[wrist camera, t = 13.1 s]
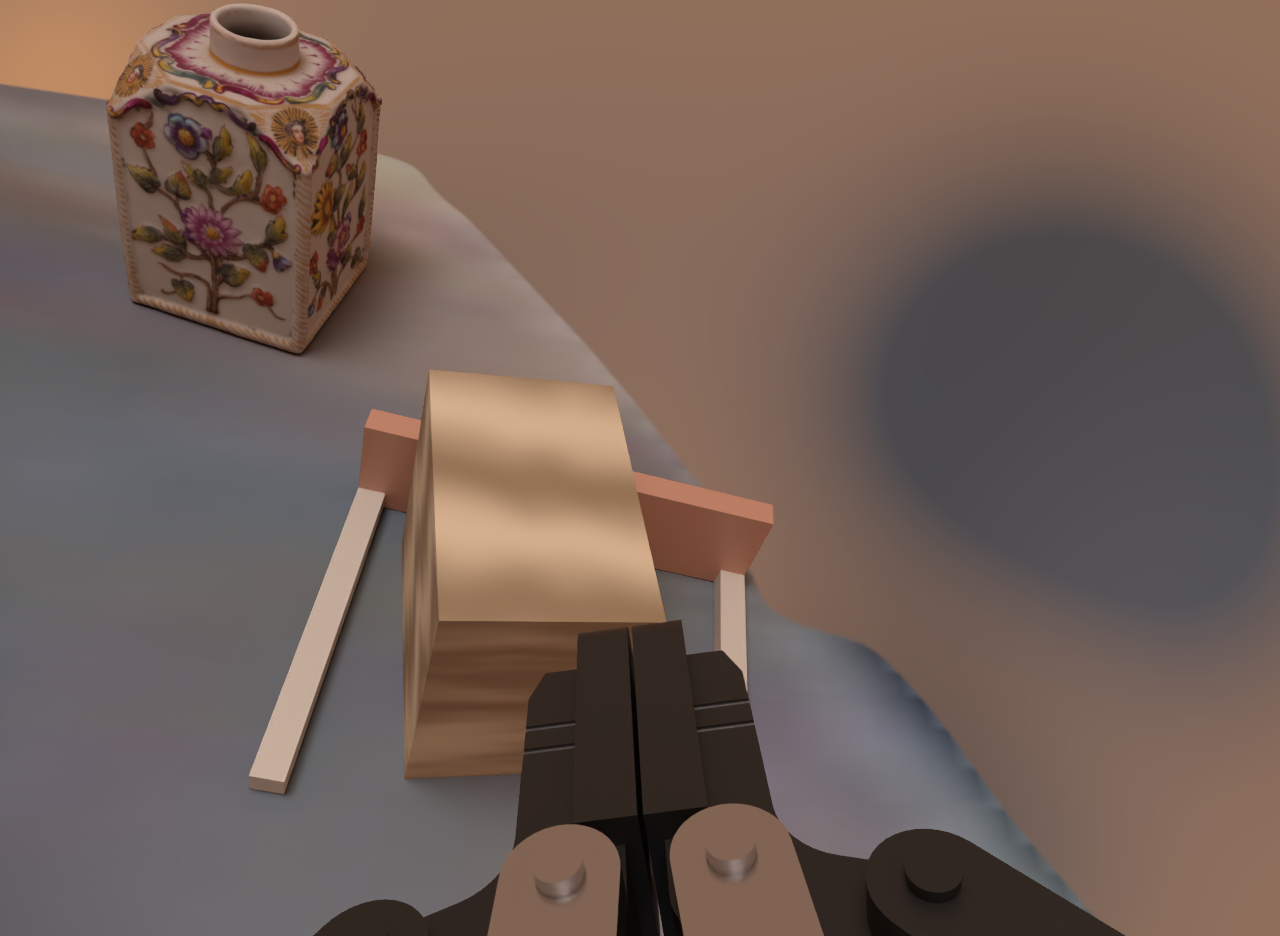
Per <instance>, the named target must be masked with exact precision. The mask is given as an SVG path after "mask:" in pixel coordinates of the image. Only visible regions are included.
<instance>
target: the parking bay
mask: <svg viewBox="0 0 1280 936" xmlns="http://www.w3.org/2000/svg"><path fill="white" fill-rule="evenodd" d="M420 425H421V420H417V419H413V418H409V417H405V416H400V415H396V414H392V413H388V412H384V411H380V410H375V409H372V410H371V412H370V415H369V417H368V420H367V422H366V425H365V428H364V438H363V449H362V459H361V469H360V479H359V488H358V491H357V493H356V496H355V498H354V501H353V504H352V506H351V509H350V512H349V514H348V517H347V519H346V522H345V525H344V527H343V530H342V533H341V535H340V538H339V540H338V543H337V546H336V548H335V551H334V554H333V556H332V559H331V562H330V564H329V567H328V569H327V572H326V575H325V577H324V580H323V583H322V585H321V588H320V590H319V593H318V596H317V598H316V601H315V604H314V606H313V609H312V611H311V614H310V617H309V619H308V622H307V625H306V627H305V630H304V633H303V635H302V638H301V640H300V643H299V646H298V648H297V651H296V654H295V656H294V659H293V661H292V664H291V667H290V669H289V672H288V675H287V677H286V680H285V682H284V685H283V688H282V690H281V693H280V696H279V698H278V701H277V703H276V706H275V709H274V711H273V714H272V717H271V719H270V722H269V725H268V727H267V730H266V732H265V735H264V738H263V740H262V743H261V746H260V748H259V751H258V753H257V756H256V759H255V761H254V764H253V767H252V769H251V772H250V774H249V788H251V789H256V790H262V791H267V792H273V793H279V794H284V793H285V790H286V787H287V784H288V781H289V778H290V776H291V773H292V770H293V767H294V764H295V761H296V758H297V755H298V752H299V750H300V747H301V744H302V741H303V738H304V735H305V732H306V729H307V727H308V724H309V721H310V718H311V715H312V712H313V709H314V706H315V703H316V701H317V698H318V695H319V692H320V689H321V686H322V683H323V680H324V678H325V675H326V672H327V669H328V666H329V663H330V660H331V657H332V654H333V652H334V649H335V646H336V643H337V640H338V637H339V634H340V631H341V629H342V626H343V623H344V620H345V617H346V614H347V611H348V608H349V605H350V603H351V600H352V597H353V594H354V591H355V588H356V585H357V582H358V580H359V577H360V574H361V571H362V568H363V565H364V562H365V559H366V556H367V554H368V551H369V548H370V545H371V542H372V539H373V536H374V533H375V530H376V528H377V525H378V522H379V519H380V516H381V513H382V510H383V507H385V508H389V509H394V510H398V511H402V512H407V508H408V502H409V495H410V489H411V483H412V476H413V470H414V463H415V457H416V450H417V444H418V438H419V431H420ZM632 472H633V471H632ZM633 476H634V480H635V485H636V489H637V494H638V498H639V502H640V507H641V511H642V516H643V520H644V525H645V529H646V533H647V538H648V542H649V547H650V551H651V555H652V560H653V564H654V568H655V569H659V570H664V571H668V572H673V573H677V574H682V575H686V576H691V577H695V578H699V579H704V580H708V581H713V582H714V651H721V650H723V651H724V652H725V653H726V654H727V655H728V657H729V658H730V659H731V660H732V661H733V662H734V663H735V664H736V665H737V666H738V667H739V668H740V669H741V670H742V671H743V676H744V680H745V685H746V689H747V660H746V619H745V578H744V575H745V573H746V572H747V570H748V568H749V566H750V565H751V563H752V561H753V559H754V558H755V556H756V554H757V552H758V551H759V549H760V547H761V545H762V544H763V542H764V540H765V538H766V537H767V535H768V533H769V531H770V530H771V528H772V526H773V524H774V522H773V505H770V504H766V503H762V502H758V501H754V500H750V499H746V498H741V497H737V496H733V495H728V494H724V493H721V492H716V491H712V490H708V489H704V488H700V487H696V486H691V485H687V484H683V483H679V482H675V481H671V480H667V479H662V478H658V477H654V476H650V475H646V474H642V473H637V472H633Z"/></svg>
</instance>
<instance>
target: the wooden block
mask: <svg viewBox="0 0 1280 936" xmlns="http://www.w3.org/2000/svg"><path fill="white" fill-rule="evenodd" d="M402 571H403V676H404V779H412V778H435V777H459V776H482V775H505V774H522V763H523V755H524V742H525V732H526V721H527V710H528V700H529V698H530V696H531V695H532V693H533V692H534V690H535V689H536V687H537V685H538V684H539V682H540V681H541V679H542V678H543V676H544V675H545V673H551V672H559V671H567V670H574V669H577V639H578V633H584V632H592V631H599V630H607V629H614V628H622V627H628V629H629V633H630V639H631V645H632V651H633V640H632V626H639V625H646V624H654V623H661V622H666V617H665V613H664V608H663V604H662V599H661V595H660V591H659V586H658V582H657V577H656V573H655V569H654V564H653V560H652V555H651V551H650V547H649V542H648V538H647V533H646V529H645V525H644V520H643V516H642V511H641V507H640V502H639V498H638V494H637V489H636V485H635V480H634V476H633V472H632V467H631V463H630V458H629V454H628V450H627V445H626V441H625V436H624V432H623V428H622V423H621V419H620V414H619V410H618V405H617V401H616V397H615V392H614V388H613V386H606V385H595V384H584V383H573V382H562V381H550V380H539V379H528V378H517V377H506V376H495V375H483V374H472V373H461V372H450V371H439V370H429V373H428V380H427V386H426V393H425V399H424V406H423V412H422V418H421V425H420V431H419V438H418V444H417V450H416V457H415V463H414V470H413V476H412V483H411V489H410V495H409V502H408V508H407V515H406V521H405V528H404V534H403V540H402ZM633 657H634V656H633Z"/></svg>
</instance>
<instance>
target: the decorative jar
mask: <svg viewBox="0 0 1280 936" xmlns="http://www.w3.org/2000/svg"><path fill="white" fill-rule="evenodd" d="M106 104H107V117H108V125H109V133H110V142H111V151H112V159H113V170H114V181H115V189H116V198H117V206H118V213H119V221H120V232H121V237H122V244H123V252H124V259H125V266H126V273H127V279H128V285H129V290H130V297H131V300H132V301H133V302H137V303H141V304H144V305H148V306H151V307H154V308H158V309H160V310H163V311H166V312H168V313H171V314H175V315H178V316H181V317H184V318H187V319H190V320H193V321H196V322H199V323H202V324H205V325H208V326H212V327H214V328H218V329H221V330H223V331H226V332H229V333H232V334H236V335H238V336H241V337H244V338H247V339H250V340H254V341H257V342H261V343H264V344H267V345H270V346H273V347H277V348H280V349H283V350H286V351H289V352H292V353H301V352H303V350H304V349H305V348H306V347H307V346H308V344H309V343H310V342H311V341H312V339H313V338H314V336H315V335H316V333H317V332H318V330H319V329H320V328H321V326H322V325H323V324H324V322H325V321H326V320H327V319H328V317H329V316H330V314H331V313H332V311H333V310H334V309H335V308H336V306H337V305H338V304H339V302H340V301H341V300H342V298H343V297H344V296H345V294H346V293H347V292H348V290H349V289H350V287H351V286H352V285H353V283H354V282H355V280H356V279H357V277H358V276H359V275H360V274H361V272H362V271H363V270H364V268H365V266H366V264H367V260H368V254H369V245H370V235H371V225H372V213H373V201H374V190H375V177H376V164H377V141H378V128H379V115H380V105H381V104H382V100H381V98H380V97H379V96H378V94H377V93H376V92H375V90H374V88H373V87H372V85H371V84H370V83H369V82H368V81H367V80H366V78H365V76H364V74H363V73H362V72H361V71H360V69H359V68H358V67H356V66H354V65H353V64H351V62H350V61H349V60H348V58H347V57H346V56H345V54H344V53H342V52H341V51H339V50H338V49H337V48H336V46H335V45H334V44H333V43H331V42H330V41H328V40H327V39H324V38H321V37H319V36H316V35H313V34H310V33H307V32H304V31H301V30H299V29H298V27H297V25H296V23H295V22H294V21H293V20H292V19H291V18H290V17H289V16H287V15H286V14H284V13H282V12H280V11H277V10H275V9H271V8H268V7H263V6H259V5H252V4H230V5H225V6H222V7H220V8H219V9H216V10H214V11H213V12H212V13H211V14H201V15H179V16H176V17H174V18H172V19H171V20H169V21H168V22H165V23H163V24H161V25H160V26H158V27H155V28H153V29H152V30H151V31H149V32H148V33H147V34H146V35H145V36H144V37H142V38H141V39H140V40H139V41H138V43H137V45H136V47H135V49H134V51H133V53H132V54H131V56H130V59H129V61H128V63H127V65H126V67H125V69H124V71H123V73H122V74H121V76H120V78H119V80H118V83H117V85H116V87H115V90H114V92H113V94H112V97H111V98H110V99H109V101H108V102H107V103H106Z"/></svg>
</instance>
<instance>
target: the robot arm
mask: <svg viewBox="0 0 1280 936" xmlns="http://www.w3.org/2000/svg"><path fill="white" fill-rule="evenodd" d="M632 640H633V651H632V645H631V639H630V633H629V629H628V627H622V628H614V629H607V630H599V631H592V632H584V633H578V639H577V669H574V670H567V671H559V672H551V673H545V675H544V676H543V678H542V679H541V681H540V682H539V684H538V685H537V687H536V689H535V690H534V692H533V693H532V695H531V696H530V698H529V700H528V710H527V721H526V732H525V742H524V755H523V763H522V774H521V784H520V795H519V805H518V816H517V827H516V837H515V843H514V848H513V851H512V852H511V853H510V854H509V856H508V857H507V858H506V860H505V862H504V864H503V866H502V868H501V872H500V873H499V874H498V875H497V876H496V878H495V879H494V880H493V881H492V882H491V883H489V884H488V885H487V886H486V887H485V888H483V889H482V890H481V891H479V892H478V893H476V894H475V895H473V896H471V897H470V898H468V899H466V900H463V901H461V902H459V903H457V904H455V905H452V906H450V907H448V908H445V909H443V910H440V911H438V912H436V913H433V914H431V915H428V916H426V917H424V918H423V917H422V915H421V914H420V913H419V912H418V911H417V910H416V909H415V908H413V907H412V906H410V905H408V904H406V903H404V902H400V901H396V900H375V901H370V902H366V903H362V904H360V905H357V906H354V907H352V908H350V909H348V910H346V911H344V912H342V913H341V914H339V915H338V916H336V917H335V918H333V919H332V920H330V921H329V922H328V923H327V924H326V925H324V926H323V927H322V928H321V929H320V930H319V931H318V932H317V933H316V934H315V935H314V936H660V923H659V909H660V915H661V921H662V927H663V933H664V936H1125V935H1123V934H1121V933H1120V932H1118V931H1117V930H1115V929H1113V928H1111V927H1110V926H1108V925H1107V924H1105V923H1103V922H1102V921H1100V920H1098V919H1097V918H1095V917H1093V916H1092V915H1090V914H1088V913H1087V912H1085V911H1084V910H1082V909H1080V908H1079V907H1077V906H1075V905H1074V904H1072V903H1070V902H1069V901H1067V900H1065V899H1064V898H1062V897H1060V896H1059V895H1057V894H1055V893H1054V892H1052V891H1051V890H1049V889H1047V888H1046V887H1044V886H1042V885H1041V884H1039V883H1037V882H1036V881H1034V880H1032V879H1031V878H1029V877H1027V876H1026V875H1024V874H1023V873H1021V872H1019V871H1018V870H1016V869H1014V868H1013V867H1011V866H1009V865H1008V864H1006V863H1004V862H1003V861H1001V860H999V859H998V858H996V857H994V856H993V855H991V854H990V853H988V852H986V851H985V850H983V849H981V848H980V847H978V846H976V845H975V844H973V843H971V842H970V841H968V840H966V839H964V838H962V837H960V836H957V835H954V834H952V833H949V832H944V831H940V830H933V829H914V830H908V831H903V832H900V833H897V834H895V835H893V836H891V837H889V838H887V839H886V840H884V841H883V842H882V843H880V844H879V845H878V846H877V847H876V849H875V850H874V851H873V852H872V854H871V856H870V858H869V860H867V859H860V858H854V857H847V856H840V855H835V854H830V853H825V852H822V851H819V850H817V849H814V848H812V847H810V846H808V845H806V844H804V843H802V842H801V841H799V840H798V839H796V838H795V837H793V836H792V835H791V834H790V833H789V832H788V831H787V829H786V828H785V827H784V825H783V824H782V823H781V822H780V821H779V820H778V818H777V816H776V814H775V811H774V808H773V805H772V800H771V796H770V791H769V787H768V783H767V778H766V774H765V769H764V765H763V760H762V756H761V751H760V747H759V742H758V738H757V734H756V729H755V726H754V721H753V716H752V711H751V707H750V703H749V698H748V694H747V689H746V685H745V680H744V676H743V671H742V670H741V669H740V668H739V667H738V666H737V665H736V664H735V663H734V662H733V661H732V660H731V659H730V658H729V657H728V655H727V654H726V653H725V652H724V651H723V650H721V651H713V652H706V653H698V654H690V655H686V650H685V643H684V636H683V629H682V622H681V620H677V621H669V622H661V623H654V624H646V625H639V626H632ZM633 656H634V657H633ZM658 904H659V909H658Z"/></svg>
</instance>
